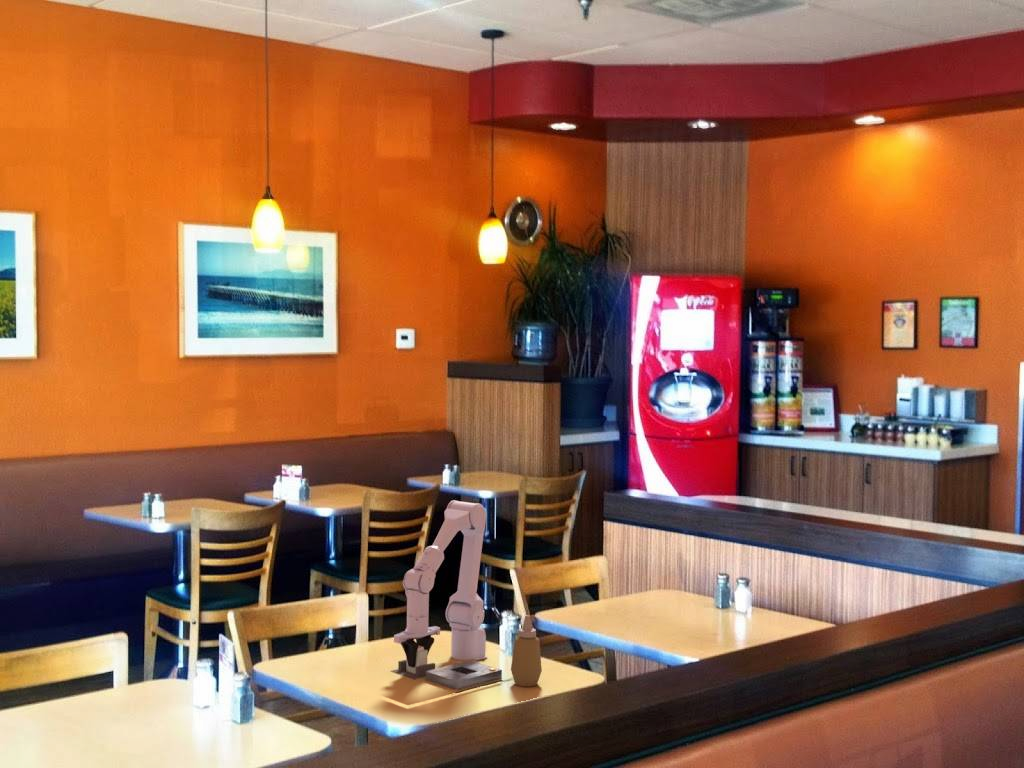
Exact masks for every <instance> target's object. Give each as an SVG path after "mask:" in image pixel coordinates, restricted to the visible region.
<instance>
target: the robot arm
mask: <svg viewBox="0 0 1024 768" xmlns="http://www.w3.org/2000/svg"><path fill="white" fill-rule="evenodd" d="M487 512H488V511H487V510H486V509H485V507H484V506H483V504H482V503H478V502H477V503H474V502H468V501H467V502H466V501H459V500H456V499H454V500H451V501H450V502H449V503H448V504H447V506H446V509H445V510H444V512H443V513H444V521H443V523H442V525H441V527H440V529H439V531H438V534H437V536H436V538H435V539H434V541H433V543H432V545H429V546H426V548H425V549H424V550H423V552H422V554H421V555H420V557H419V558H418V560H417V562H416V563H415V565H414V567H413V568H411V569H409V570H408V571H406V573H405V574H404V577H403V580H402V585H403V588H404V589H405V590H404V591H405V592H404V593H405V596H406V601H407V602H406V628H405V630H404V631H401V632H399V633H397V634H394V635H393V642H394V643H396V644H399V645H401V647H402V649H403V651H404V653H405V658H407V662H408V666H410V667H415V665H416V654H417V649H418V646H422V647H424V649H425V650H428V655H427V657H428V656H429V653H430V650H431V648H432V646H433V644H434V643H435V638H434V637H432V636H435V635H436V636H440V635H441V627H439V626H436V625H433V626H429V606H430V603H429V602H430V591H432V589H433V588H434V586H435V585H434V584H435V578H436V575H437V574H436V573H437V571H438V570H439V568H440V566H441V565H442V563H443V561H444V560H445V554H444V551H445V550H446V548H447V547H448V546H449V544H450V543H451V541H452V540H453V538H455V536H456V535H457V533H458V532H459V531H460V532H461V534H462V535H463V542H462V551H461V559H460V566H459V575H458V582H457V591H456V592H455V593H453V594H452V595H451V596H449V601H448V604H447V607H446V609H445V618H446V619H445V620H446V621H447V623H448V624H449V627H450V628H451V638H450V639H451V643H450V645H451V647H450V649H451V650H450V657H451V658H452V659H455V660H462V661H463V660H465V661H470V660H475V661H481V660H484V659H487V658H488V655H486V651H487V650H486V648H487V647H486V644H487V643H486V641H487V635H486V630H485V629H484V627H483V626H482V624H483V622H484V619H485V611H484V603H485V602H484V600H483V599H482V598H481V596H479V594H478V593H477V590H478V582H479V577H480V576H479V575H480V566H481V559H482V558H481V557H482V549H483V542H484V535H485V530H486V523H487V514H488V513H487Z"/></svg>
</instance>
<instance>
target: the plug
mask: <svg viewBox="0 0 1024 768" xmlns="http://www.w3.org/2000/svg"><path fill="white" fill-rule="evenodd" d="M427 655H428V656H429V653H428V650H425V649H424V647H422V646H418V649H417V654H416V665H415V667H410V666H408V662H407V658H406V657H405V658H406V659H405V660H406V671H409V672H412V673H415V674H416V667H417V666H421V665H426V664H428V656H427Z"/></svg>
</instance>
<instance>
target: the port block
mask: <svg viewBox="0 0 1024 768" xmlns="http://www.w3.org/2000/svg"><path fill="white" fill-rule="evenodd" d="M502 677H503V670H502V669H500V668H497V667H493V666H492V665H487V664H484V663H480V662H477V661H476V660H475V661H474V660H472V659H469V660H465V661H462V662H458V663H454V664H450V665H446V666H441V667H438V668H437V667H436V668H435V669H433V670H429V671H426V677H425V681H428V682H432V683H433V684H438V685H440V686H443V687H446V688H450V689H452V690H456V691H455V692H454V693H456V694H460V693H462V692H463V693H464V692H466V691H470V690H475V689H478V688H481V687H485V686H488V685H492V684H496V683H499V682H502V681H503V680H502ZM488 682H489V683H488ZM477 685H478V686H477Z"/></svg>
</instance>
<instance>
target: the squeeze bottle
mask: <svg viewBox="0 0 1024 768" xmlns="http://www.w3.org/2000/svg"><path fill="white" fill-rule="evenodd" d="M517 631H518V633H517V634H518V635H517V636H516V637H515V638H514V642H513V647H512V648H513V649H512V655H511V656H512V657H511V665H510V671H511V674H512V679H513V681H514V684H515V685H516V686H519V687H526V686H527V687H534V686H537V685H538V682H539V680H540V678H541V674H542V670H543V669H542V668H543V667H542V658H541V645H540V644H541V643H540V638H538V637H537V630H536V628H534V627H533V625H532V620H531V616H530V615H525V616H524V619H523V624H522V627H520V628H518V629H517Z"/></svg>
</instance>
